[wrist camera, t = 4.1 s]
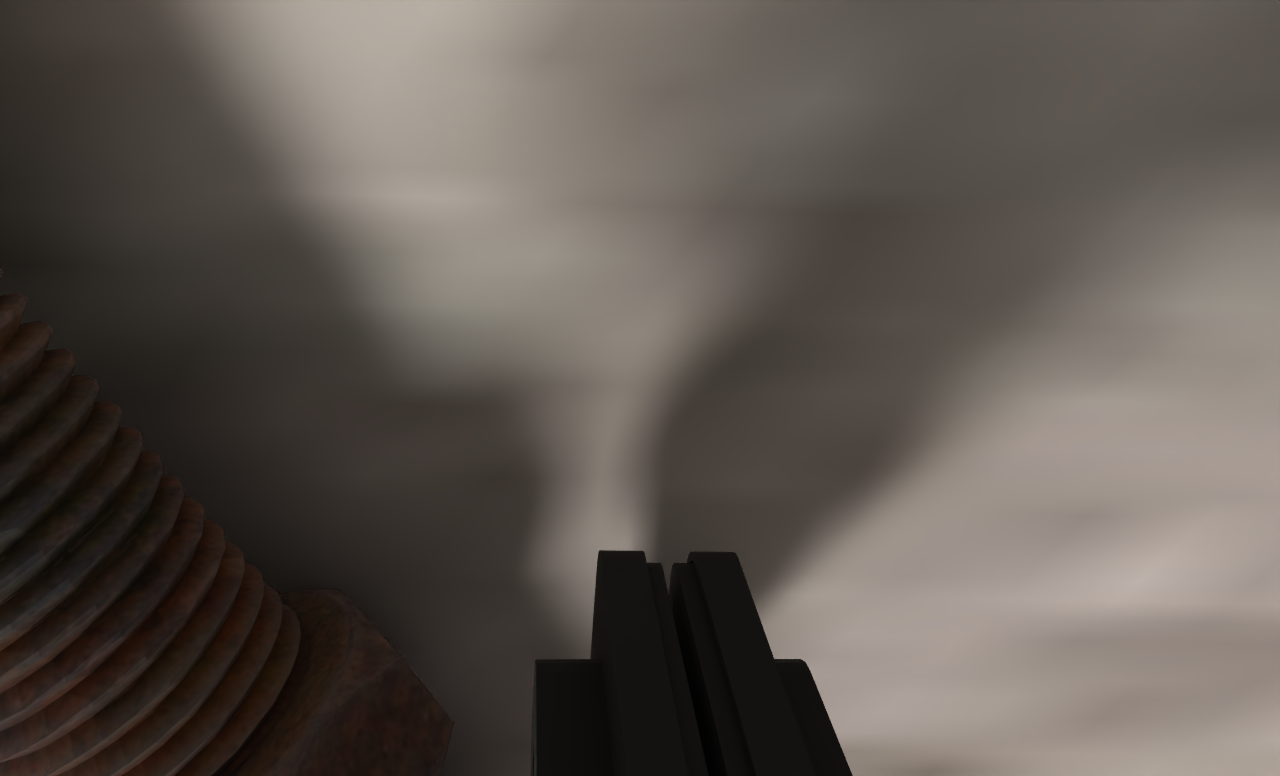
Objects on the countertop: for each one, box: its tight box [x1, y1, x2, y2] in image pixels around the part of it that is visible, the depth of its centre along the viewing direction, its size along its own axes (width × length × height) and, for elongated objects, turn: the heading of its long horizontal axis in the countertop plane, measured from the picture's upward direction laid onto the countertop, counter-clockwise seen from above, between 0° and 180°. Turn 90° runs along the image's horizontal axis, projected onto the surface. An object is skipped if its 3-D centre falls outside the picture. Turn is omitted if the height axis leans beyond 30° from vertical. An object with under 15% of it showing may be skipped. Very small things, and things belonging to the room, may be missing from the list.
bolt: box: [0, 268, 454, 776], centre depth 10 cm, size 6×5×15 cm
